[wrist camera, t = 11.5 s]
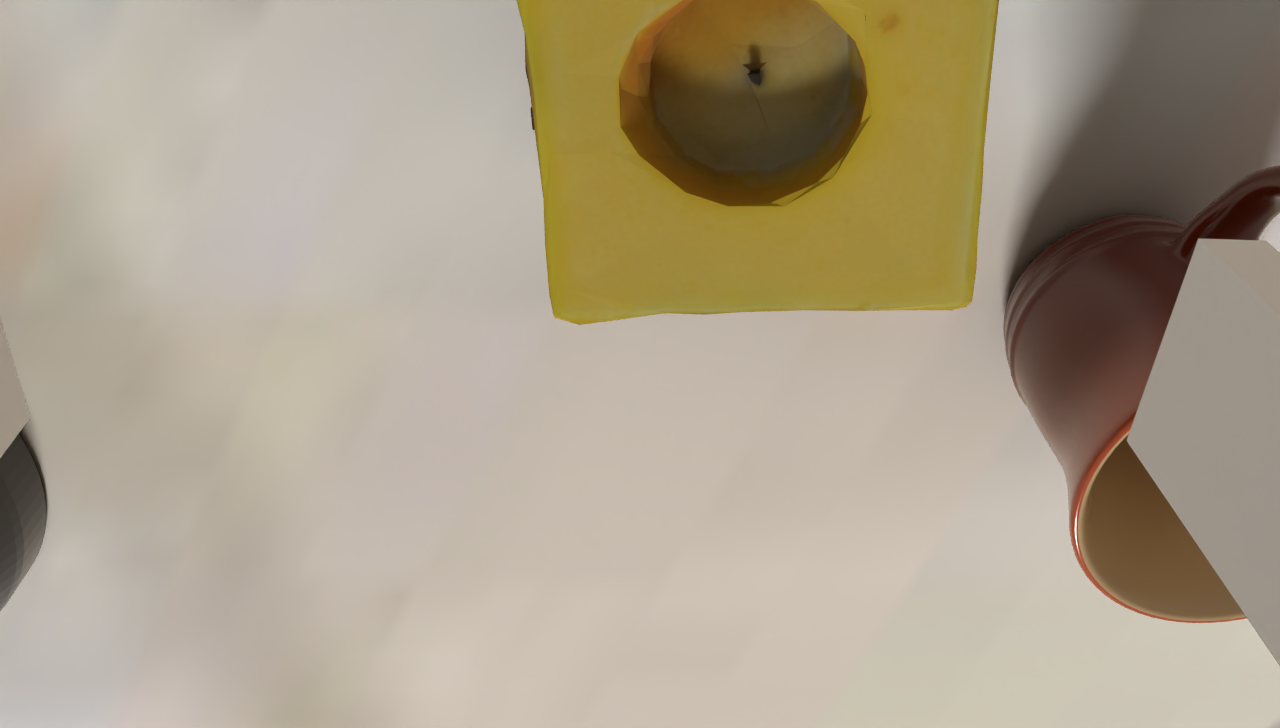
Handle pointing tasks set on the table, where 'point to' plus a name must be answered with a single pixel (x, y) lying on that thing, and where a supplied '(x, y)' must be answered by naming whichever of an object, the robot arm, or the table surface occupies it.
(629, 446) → the table surface
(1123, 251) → the mug
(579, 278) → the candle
